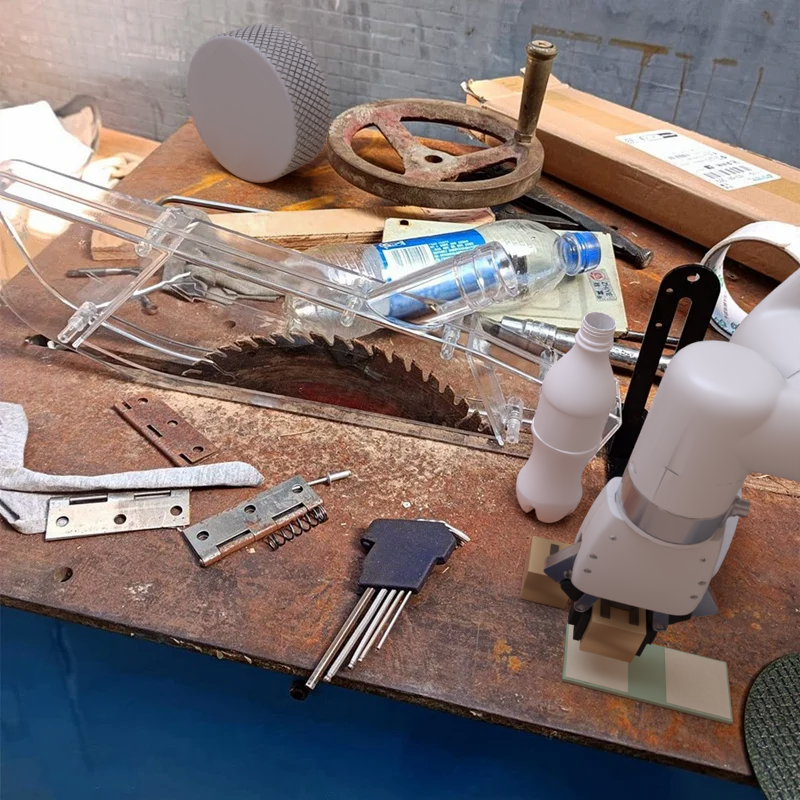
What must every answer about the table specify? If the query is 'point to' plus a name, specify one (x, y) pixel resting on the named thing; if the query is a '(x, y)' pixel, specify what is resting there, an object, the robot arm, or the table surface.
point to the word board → (654, 678)
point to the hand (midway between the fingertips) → (606, 633)
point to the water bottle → (569, 422)
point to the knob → (259, 101)
